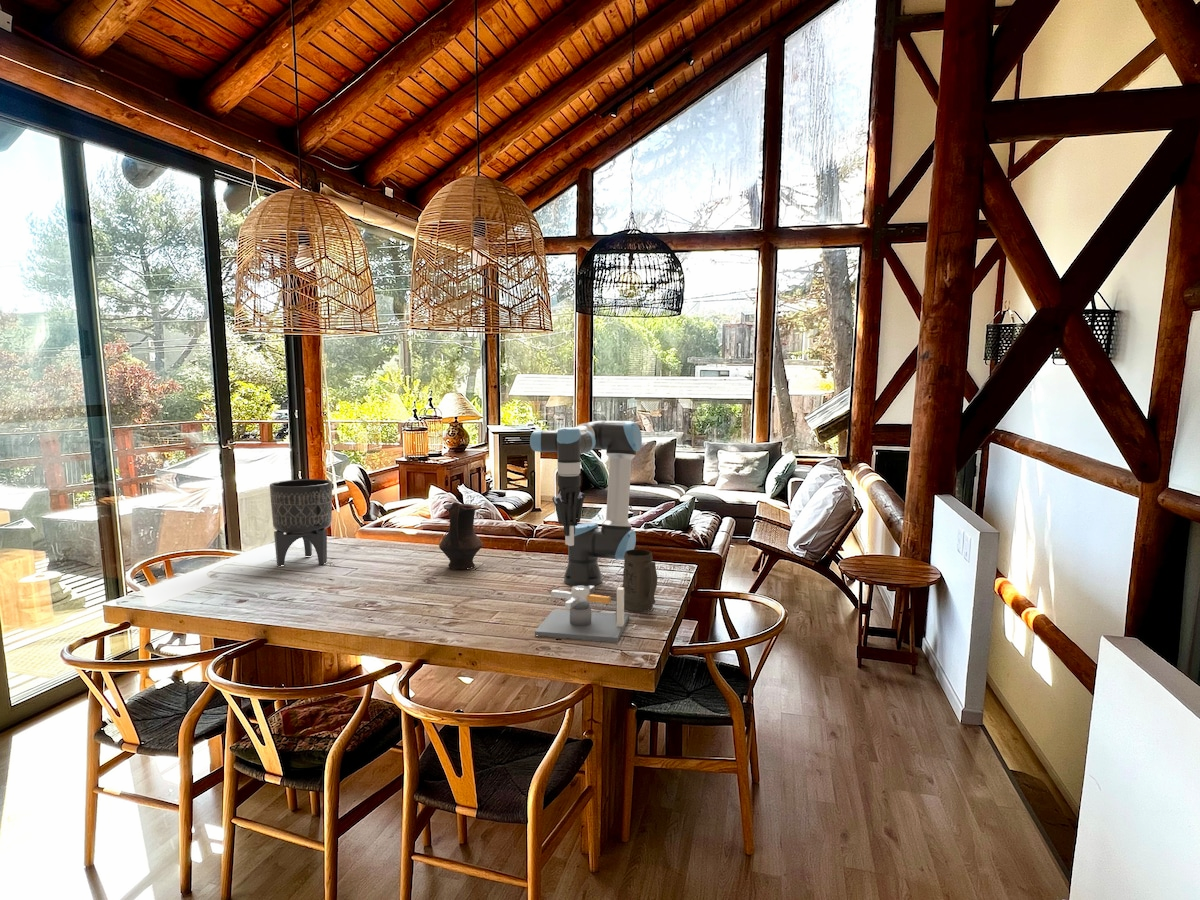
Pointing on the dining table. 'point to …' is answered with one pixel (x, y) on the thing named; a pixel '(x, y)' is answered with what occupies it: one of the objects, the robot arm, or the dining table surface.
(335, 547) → the dining table surface
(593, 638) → the stand
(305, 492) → the planter
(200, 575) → the dining table surface
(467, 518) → the jug
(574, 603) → the capstan
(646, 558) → the beer stein
